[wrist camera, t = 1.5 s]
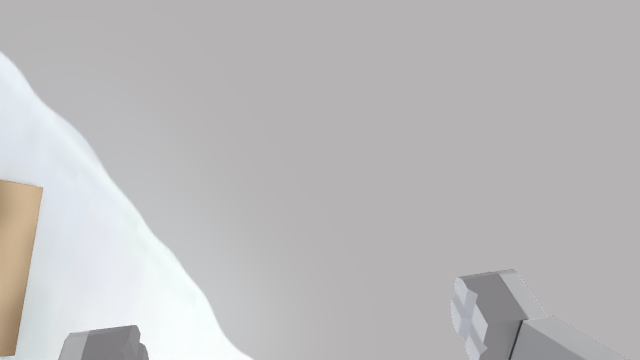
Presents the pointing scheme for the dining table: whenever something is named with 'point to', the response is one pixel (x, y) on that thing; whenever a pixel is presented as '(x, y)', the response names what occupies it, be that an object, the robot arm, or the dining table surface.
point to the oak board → (15, 255)
